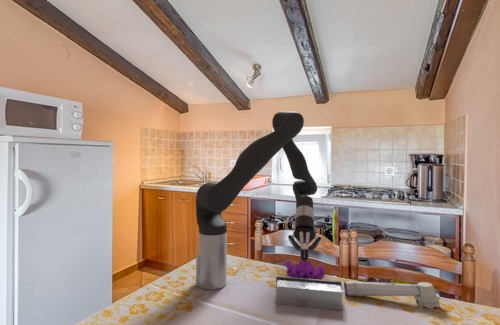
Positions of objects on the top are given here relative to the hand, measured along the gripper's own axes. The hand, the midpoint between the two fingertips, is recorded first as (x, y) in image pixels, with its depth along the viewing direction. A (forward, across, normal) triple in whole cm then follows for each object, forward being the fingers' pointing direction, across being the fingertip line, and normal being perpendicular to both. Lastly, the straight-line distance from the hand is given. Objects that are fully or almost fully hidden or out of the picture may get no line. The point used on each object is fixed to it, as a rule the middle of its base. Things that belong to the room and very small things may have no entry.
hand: (304, 260), depth 102 cm
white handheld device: (+14, +25, -6) cm, 29 cm away
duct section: (+18, +1, -11) cm, 21 cm away
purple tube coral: (+9, 0, -2) cm, 9 cm away
